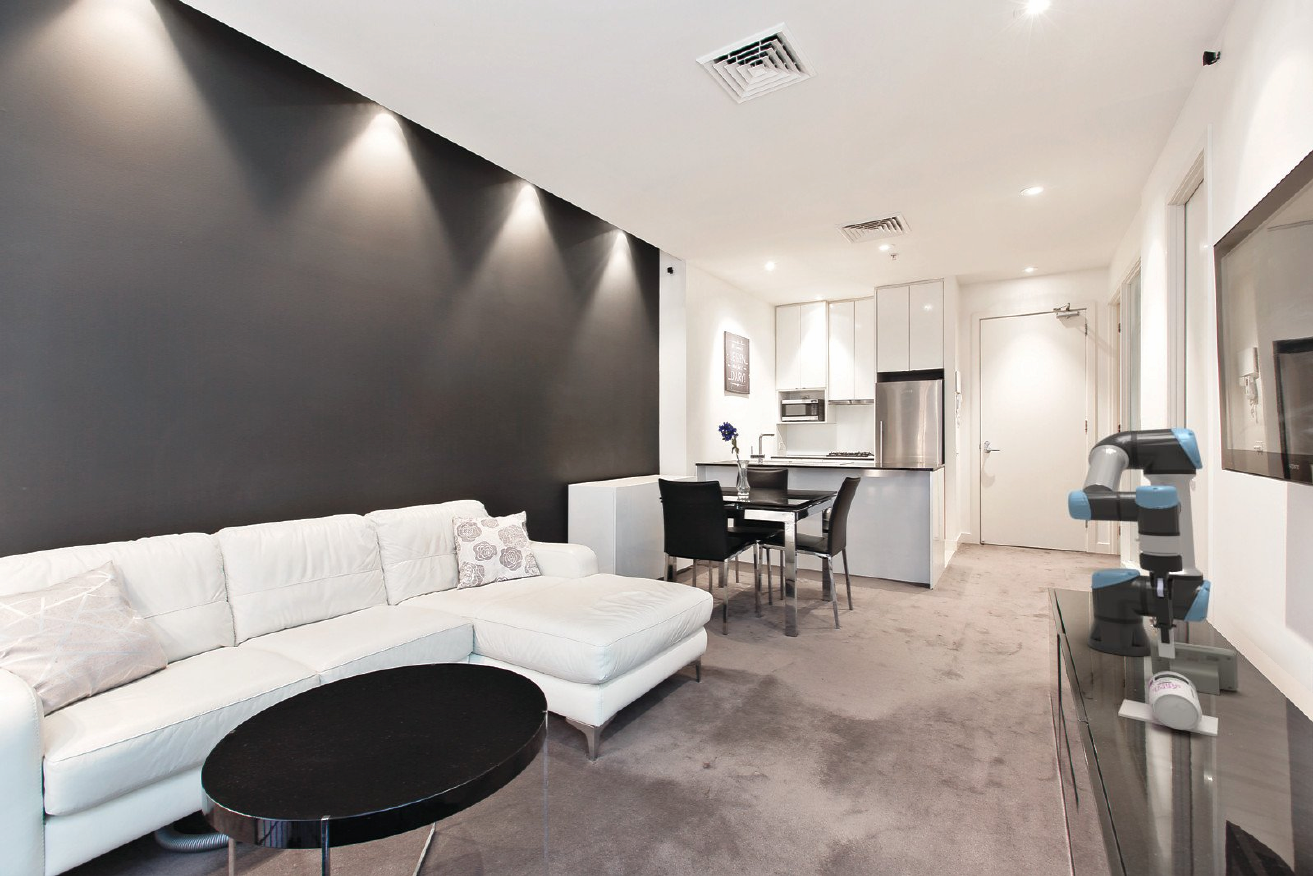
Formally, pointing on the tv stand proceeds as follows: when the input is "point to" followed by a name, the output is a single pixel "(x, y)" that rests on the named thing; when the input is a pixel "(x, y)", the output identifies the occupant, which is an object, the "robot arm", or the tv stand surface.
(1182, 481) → the robot arm
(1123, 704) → the mat
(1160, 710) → the supplement can
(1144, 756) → the tv stand surface
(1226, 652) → the digital clock
